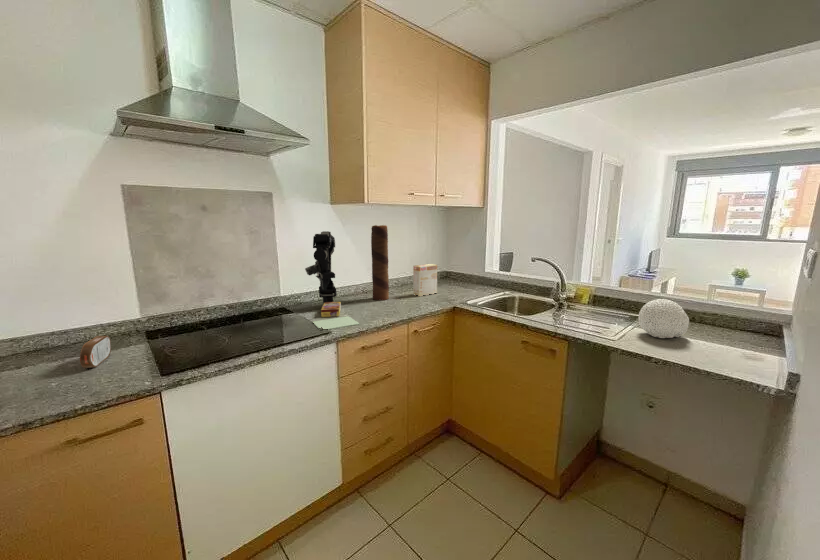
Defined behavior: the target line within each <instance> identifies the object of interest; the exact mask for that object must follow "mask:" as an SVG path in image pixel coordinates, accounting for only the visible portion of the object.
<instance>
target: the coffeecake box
mask: <svg viewBox="0 0 820 560" xmlns="http://www.w3.org/2000/svg"><path fill="white" fill-rule="evenodd" d="M412 268H413V269H412V270H413V271H412V272H413V274H412V275H413V278H412V279H413V280H412V281H413V284H412V285H413V286H412V287H413V288H412V289H413V294H415V295H414V296H416V295H418V296H417V297H419V296H420V297H424V296H423V295H426V296H430V295H429V294H432V295H435V294H434V293H437V294H438V264H435V263H429V264H428V263H427V264H418V265H413V267H412ZM413 294H412V295H413Z"/></svg>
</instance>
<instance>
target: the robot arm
mask: <svg viewBox="0 0 820 560" xmlns="http://www.w3.org/2000/svg"><path fill="white" fill-rule="evenodd" d="M312 248H313V249H315V251H314V253H313V258H314V260H315V263H314V264H312V265H310V266H307V267H305V268H304V270H305V272H306V274H307V275H308V276H312V275H315V277H316V278H317V279H318V280H319V286H318V294H319V296H318V297H319V298H322V305H320V307H321V308H322V307H323V305H324V302H334V298H335V297H337V296H338V292H337V288H336V286H335V284H334V282H333V279H335V278H336V273H334V272H333V271H332V255H333V254H334V252H335V248H336V239H335V237H334V236H333V235H332V233H331V231H326V230H325V231H324V230H323V231H320V233H315V234H314V235H313V241H312Z"/></svg>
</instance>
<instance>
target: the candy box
mask: <svg viewBox="0 0 820 560" xmlns="http://www.w3.org/2000/svg"><path fill="white" fill-rule="evenodd" d="M341 302H342V301H333V302H324V305H323V304H322V305H323V307H321V309H320V314H321V315H320V316H321V318H332V317H334V318H337V317H340V313H341V309H342V303H341Z"/></svg>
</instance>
